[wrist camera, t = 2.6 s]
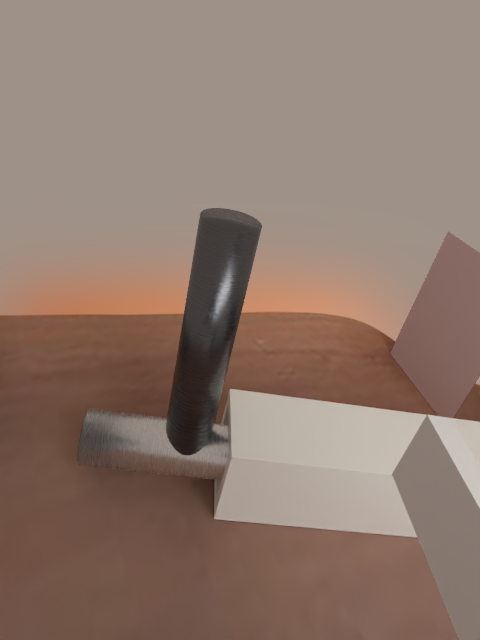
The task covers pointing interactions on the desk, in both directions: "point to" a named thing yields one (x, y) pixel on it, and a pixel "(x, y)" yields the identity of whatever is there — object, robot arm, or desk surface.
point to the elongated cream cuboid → (318, 463)
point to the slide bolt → (188, 366)
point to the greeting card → (444, 329)
